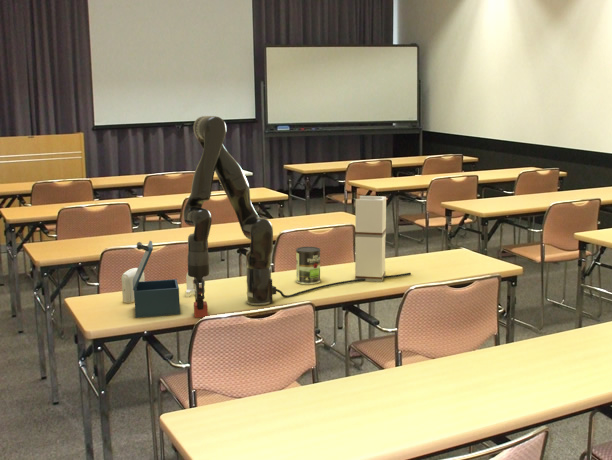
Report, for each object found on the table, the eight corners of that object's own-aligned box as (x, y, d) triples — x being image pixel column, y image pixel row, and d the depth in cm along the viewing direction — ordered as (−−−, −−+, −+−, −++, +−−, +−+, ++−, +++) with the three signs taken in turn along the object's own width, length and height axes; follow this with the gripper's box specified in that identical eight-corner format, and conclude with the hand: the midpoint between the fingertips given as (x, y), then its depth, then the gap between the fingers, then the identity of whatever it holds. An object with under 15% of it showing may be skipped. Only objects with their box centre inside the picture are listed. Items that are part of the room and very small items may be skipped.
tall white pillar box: (385, 275, 331) (386, 196, 324) (381, 281, 320) (382, 200, 313) (359, 274, 333) (360, 195, 326) (355, 280, 322) (355, 199, 315)
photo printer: (130, 304, 287) (128, 272, 285) (121, 302, 289) (119, 271, 287) (147, 296, 297) (145, 266, 294) (138, 295, 298) (136, 265, 296)
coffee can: (325, 281, 320) (325, 249, 317) (306, 286, 313) (305, 252, 311) (310, 277, 328) (310, 245, 325) (291, 281, 321) (290, 248, 318)
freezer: (177, 303, 288) (176, 279, 286) (180, 314, 275) (178, 288, 273) (135, 307, 283) (133, 281, 281) (135, 318, 271) (133, 291, 269)
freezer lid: (151, 241, 281) (138, 236, 279) (153, 248, 268) (139, 243, 266) (134, 281, 282) (121, 276, 280) (135, 290, 269) (121, 285, 267)
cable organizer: (202, 289, 307) (201, 265, 305) (199, 296, 298) (198, 271, 296) (189, 289, 307) (188, 266, 305) (185, 296, 297) (184, 272, 295)
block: (206, 312, 277) (206, 301, 276) (207, 316, 273) (207, 304, 272) (194, 313, 276) (193, 302, 275) (195, 317, 271) (194, 305, 270)
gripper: (210, 266, 265) (211, 311, 268) (207, 257, 278) (208, 300, 281) (189, 267, 263) (190, 312, 266) (186, 258, 276) (187, 301, 279)
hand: (199, 306), depth 273 cm, fingers open, 8 cm apart
